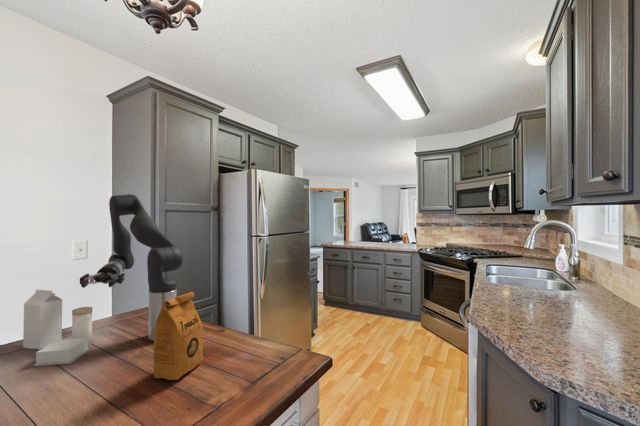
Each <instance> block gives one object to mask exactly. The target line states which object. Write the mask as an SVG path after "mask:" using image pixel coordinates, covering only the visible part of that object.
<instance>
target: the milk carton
mask: <svg viewBox="0 0 640 426" xmlns="http://www.w3.org/2000/svg"><path fill="white" fill-rule="evenodd" d="M62 329H63V299H62V298H61V297H59V296H58V295H56V293H55V292H53V290H48V289H35V293H34V294H33V295H32V296H30V297H29V299H27V301H25V302H24V303H23V333H22V334H23V336H22V337H23V339H22V340H23V341H22V342H23V343H22V345H23V346H22V347H23V348H24V349H32V350H41V349H42V348H44V347H46V346H47V345H49V344H51V343H52V342H54V341H56V340H63V339H62V336H63V335H62V334H63V330H62Z"/></svg>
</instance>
